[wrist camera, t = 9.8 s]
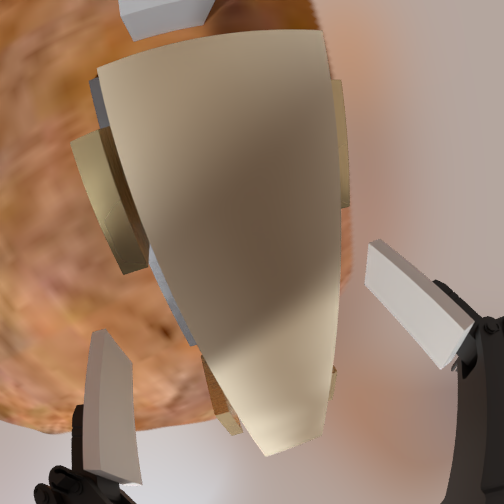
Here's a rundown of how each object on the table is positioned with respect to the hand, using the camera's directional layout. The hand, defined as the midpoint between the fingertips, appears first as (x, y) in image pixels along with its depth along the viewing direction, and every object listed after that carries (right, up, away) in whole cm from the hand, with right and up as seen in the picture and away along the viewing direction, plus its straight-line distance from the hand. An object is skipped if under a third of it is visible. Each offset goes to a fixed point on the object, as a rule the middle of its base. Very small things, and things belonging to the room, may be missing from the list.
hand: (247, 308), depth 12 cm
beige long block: (0, +1, +1) cm, 1 cm away
